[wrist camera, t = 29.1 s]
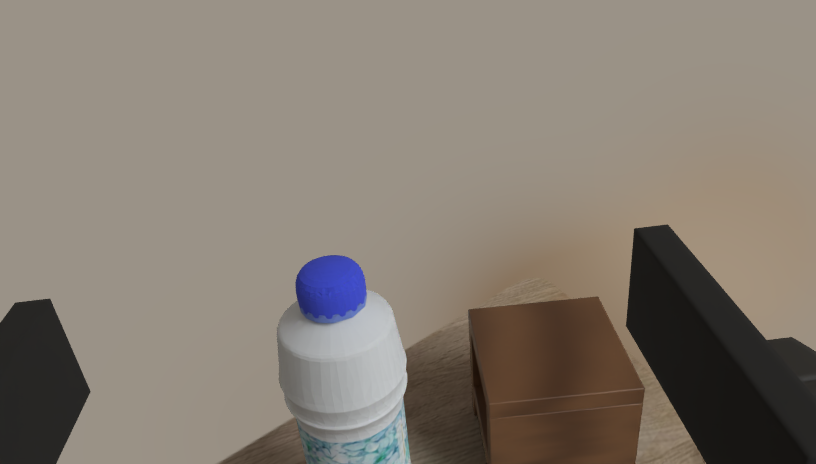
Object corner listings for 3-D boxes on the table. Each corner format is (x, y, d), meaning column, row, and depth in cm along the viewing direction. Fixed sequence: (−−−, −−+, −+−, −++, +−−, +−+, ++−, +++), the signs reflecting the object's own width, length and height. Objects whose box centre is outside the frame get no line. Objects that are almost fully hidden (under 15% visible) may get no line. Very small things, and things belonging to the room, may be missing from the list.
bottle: (436, 495, 44) (412, 233, 34) (407, 592, 39) (368, 315, 29) (341, 477, 46) (291, 223, 36) (300, 566, 41) (228, 298, 30)
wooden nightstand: (491, 506, 43) (488, 404, 39) (472, 404, 51) (467, 308, 46) (631, 492, 43) (645, 388, 39) (591, 392, 51) (598, 295, 46)
